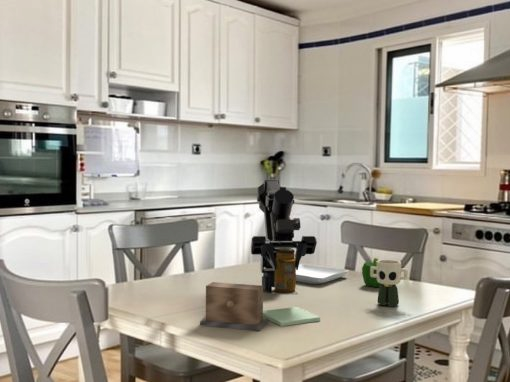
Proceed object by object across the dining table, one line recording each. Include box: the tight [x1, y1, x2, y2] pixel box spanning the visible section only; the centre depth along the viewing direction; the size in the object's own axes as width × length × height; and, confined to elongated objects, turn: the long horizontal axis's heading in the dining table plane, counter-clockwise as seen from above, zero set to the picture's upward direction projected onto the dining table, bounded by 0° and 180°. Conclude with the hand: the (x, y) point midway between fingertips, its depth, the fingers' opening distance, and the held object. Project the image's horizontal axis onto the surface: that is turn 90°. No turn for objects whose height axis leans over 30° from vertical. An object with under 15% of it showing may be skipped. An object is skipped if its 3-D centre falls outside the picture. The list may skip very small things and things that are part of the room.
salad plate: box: [296, 263, 350, 285], centre depth 209 cm, size 21×21×3 cm
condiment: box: [271, 248, 299, 296], centre depth 162 cm, size 7×8×12 cm
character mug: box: [370, 259, 409, 307], centre depth 170 cm, size 11×7×13 cm, turn 69°
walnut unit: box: [199, 281, 269, 332], centre depth 149 cm, size 16×8×10 cm, turn 74°
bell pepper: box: [361, 257, 381, 288], centre depth 197 cm, size 8×8×10 cm
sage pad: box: [263, 306, 321, 327], centre depth 155 cm, size 12×12×1 cm
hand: (286, 269), depth 161 cm, fingers closed on condiment, 6 cm apart
